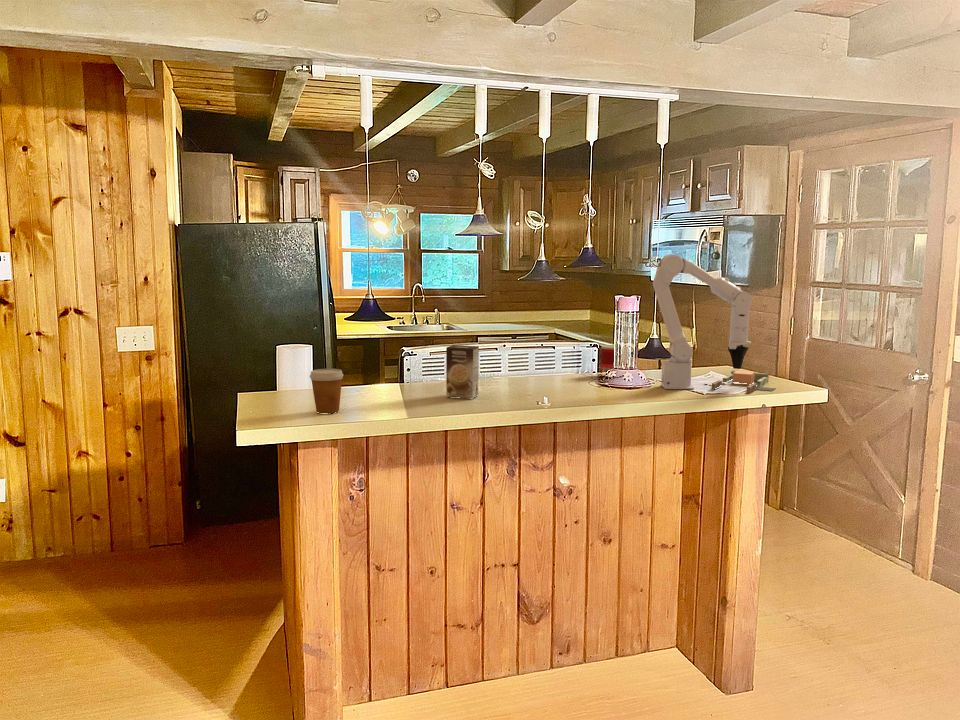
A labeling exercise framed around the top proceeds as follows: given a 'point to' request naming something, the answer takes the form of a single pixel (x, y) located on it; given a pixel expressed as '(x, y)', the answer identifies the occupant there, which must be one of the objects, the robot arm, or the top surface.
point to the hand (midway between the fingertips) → (737, 368)
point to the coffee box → (462, 371)
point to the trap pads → (765, 389)
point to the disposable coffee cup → (327, 389)
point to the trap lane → (760, 379)
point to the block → (744, 377)
